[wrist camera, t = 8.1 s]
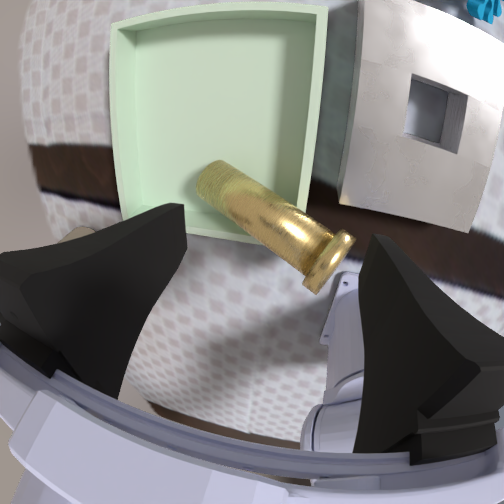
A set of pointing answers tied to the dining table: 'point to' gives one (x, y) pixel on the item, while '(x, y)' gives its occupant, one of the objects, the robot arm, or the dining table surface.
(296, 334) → the dining table surface
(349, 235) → the pin
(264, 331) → the dining table surface
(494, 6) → the gear
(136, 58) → the parts tray
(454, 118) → the pin bracket
